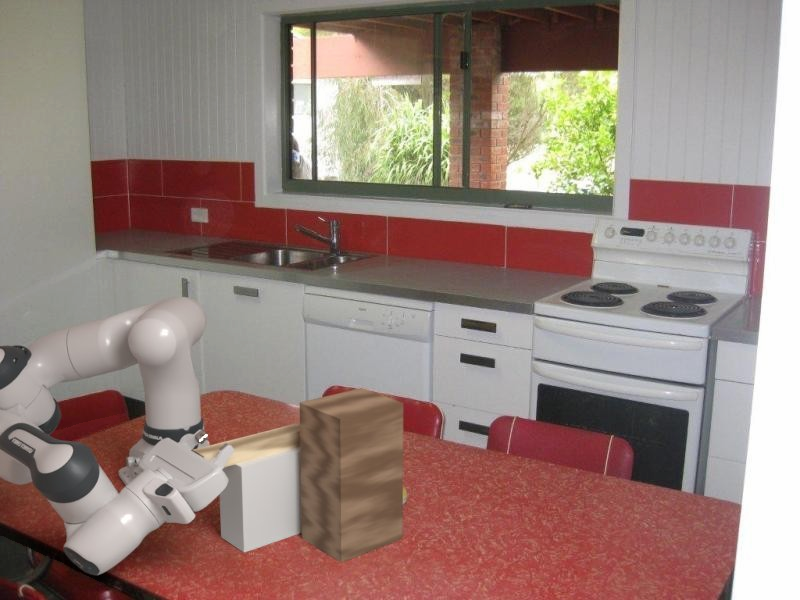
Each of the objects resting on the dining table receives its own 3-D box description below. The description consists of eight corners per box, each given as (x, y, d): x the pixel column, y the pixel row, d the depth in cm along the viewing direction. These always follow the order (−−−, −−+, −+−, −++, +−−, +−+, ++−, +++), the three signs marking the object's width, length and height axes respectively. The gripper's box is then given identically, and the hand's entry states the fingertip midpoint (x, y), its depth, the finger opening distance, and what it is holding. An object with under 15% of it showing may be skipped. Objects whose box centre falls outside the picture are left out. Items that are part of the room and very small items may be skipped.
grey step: (221, 537, 170) (218, 454, 167) (289, 514, 179) (287, 436, 176) (244, 552, 164) (241, 467, 161) (313, 528, 174) (312, 447, 170)
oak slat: (193, 466, 161) (192, 449, 161) (297, 438, 175) (297, 423, 175) (204, 472, 158) (203, 456, 158) (309, 443, 172) (309, 428, 172)
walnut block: (301, 538, 169) (299, 402, 164) (361, 517, 178) (361, 388, 173) (341, 562, 161) (340, 419, 155) (402, 539, 170) (403, 403, 164)
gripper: (138, 488, 164) (197, 437, 171) (193, 527, 149) (256, 469, 156) (119, 463, 161) (180, 412, 168) (174, 500, 146) (239, 442, 152)
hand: (217, 439), depth 161 cm, fingers open, 8 cm apart
